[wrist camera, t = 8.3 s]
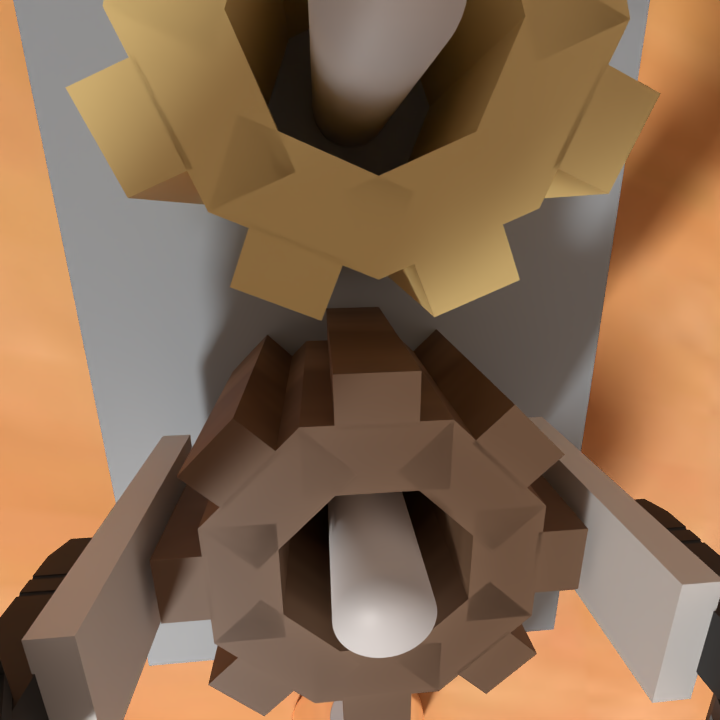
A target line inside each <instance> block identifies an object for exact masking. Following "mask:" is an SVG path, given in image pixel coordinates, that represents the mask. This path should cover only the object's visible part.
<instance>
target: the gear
mask: <svg viewBox="0 0 720 720" xmlns="http://www.w3.org/2000/svg"><path fill="white" fill-rule="evenodd" d="M103 8H104V10H105V12H106V14H107V16H108V18H109V20H110V22H111V24H112V26H113V28H114V30H115V32H116V34H117V36H118V37H119V39H120V41H121V43H122V45H123V47H124V49H125V51H126V53H127V55H128V58H126V59H124V60H122V61H120V62H118V63H116V64H114V65H111V66H109V67H107V68H105V69H103V70H101V71H99V72H97V73H95V74H93V75H91V76H88V77H86V78H84V79H82V80H80V81H78V82H76V83H74V84H72V85H70V86H67V87H65V88H66V90H67V91H68V93H69V95H70V97H71V98H72V100H73V102H74V104H75V106H76V107H77V109H78V111H79V113H80V114H81V116H82V118H83V120H84V121H85V123H86V125H87V127H88V129H89V130H90V132H91V134H92V136H93V137H94V139H95V141H96V143H97V144H98V146H99V148H100V150H101V152H102V153H103V155H104V157H105V159H106V160H107V162H108V164H109V166H110V168H111V169H112V171H113V173H114V175H115V176H116V178H117V180H118V182H119V183H120V185H121V187H122V189H123V191H124V192H125V194H126V196H127V198H133V199H145V200H156V201H168V202H180V203H192V204H203V205H205V207H206V209H207V211H208V212H209V213H212V214H214V215H217V216H219V217H222V218H224V219H227V220H229V221H232V222H234V223H237V224H239V225H242V226H244V227H247V228H249V229H248V232H247V235H246V238H245V241H244V244H243V247H242V251H241V254H240V257H239V260H238V263H237V266H236V269H235V272H234V276H233V279H232V282H231V285H230V287H231V288H234V289H236V290H239V291H242V292H244V293H247V294H250V295H253V296H255V297H258V298H261V299H263V300H266V301H269V302H272V303H274V304H277V305H280V306H283V307H285V308H288V309H291V310H293V311H296V312H299V313H302V314H304V315H307V316H310V317H312V318H315V319H318V320H321V321H322V318H323V316H324V313H325V310H326V308H327V305H328V303H329V300H330V297H331V295H332V292H333V290H334V287H335V284H336V282H337V279H338V276H339V274H340V271H341V269H342V266H345V267H348V268H351V269H353V270H356V271H358V272H361V273H363V274H366V275H368V276H371V277H373V278H376V279H378V280H379V279H381V278H384V277H386V276H388V277H389V278H390V279H391V280H393V281H394V282H395V283H396V284H397V285H398V286H399V287H401V288H402V289H403V290H404V291H405V292H406V293H407V294H409V295H410V296H411V297H412V298H413V299H414V300H415V301H417V302H418V303H419V304H420V305H421V306H422V307H423V308H425V309H426V310H427V311H428V312H429V313H430V314H431V315H433V316H434V317H436V316H439V315H441V314H443V313H446V312H448V311H450V310H452V309H455V308H457V307H459V306H462V305H464V304H466V303H468V302H471V301H473V300H475V299H478V298H480V297H482V296H484V295H487V294H489V293H491V292H494V291H496V290H498V289H500V288H503V287H505V286H507V285H510V284H512V283H514V282H516V281H519V280H520V278H519V275H518V272H517V269H516V265H515V262H514V259H513V256H512V252H511V249H510V246H509V242H508V239H507V236H506V233H505V229H504V226H503V224H505V223H508V222H510V221H512V220H514V219H517V218H519V217H521V216H523V215H526V214H528V213H530V212H532V211H535V210H537V209H539V208H540V206H541V204H542V202H543V200H544V198H555V197H570V196H584V195H598V194H609V193H610V191H611V189H612V187H613V185H614V183H615V181H616V179H617V177H618V175H619V173H620V171H621V169H622V167H623V165H624V163H625V162H626V160H627V158H628V156H629V154H630V152H631V150H632V148H633V146H634V144H635V142H636V140H637V138H638V136H639V134H640V132H641V130H642V128H643V127H644V125H645V123H646V121H647V119H648V117H649V115H650V113H651V111H652V109H653V107H654V105H655V103H656V101H657V99H658V97H659V95H660V93H659V92H657V91H655V90H653V89H651V88H650V87H648V86H646V85H644V84H642V83H641V82H639V81H637V80H635V79H633V78H632V77H630V76H628V75H626V74H624V73H622V72H621V71H619V70H617V69H615V68H613V67H612V66H610V65H608V64H609V62H610V60H611V58H612V56H613V54H614V52H615V50H616V48H617V46H618V44H619V41H620V39H621V37H622V35H623V33H624V31H625V29H626V27H627V25H628V23H629V21H630V14H629V9H628V3H627V0H467V2H466V6H465V9H464V12H463V15H462V18H461V20H460V22H459V24H458V27H457V29H456V30H455V32H454V34H453V35H452V37H451V38H450V40H449V41H448V42H447V44H446V45H445V46H444V48H443V49H442V50H441V52H440V53H439V54H438V55H437V57H436V58H435V59H434V61H433V62H432V63H431V65H430V66H429V67H428V69H427V70H426V71H425V73H424V74H423V75H422V76H421V78H420V80H421V83H422V86H423V89H424V92H425V95H426V98H427V101H428V104H429V110H428V112H427V115H426V117H425V120H424V123H423V125H422V128H421V130H420V133H419V135H418V138H417V140H416V143H415V145H414V148H413V150H412V153H411V155H410V158H409V160H408V163H406V164H404V165H402V166H399V167H397V168H395V169H393V170H391V171H388V172H386V173H384V174H382V175H379V176H378V175H376V174H374V173H371V172H369V171H367V170H365V169H362V168H360V167H358V166H356V165H353V164H351V163H349V162H347V161H344V160H342V159H340V158H338V157H335V156H333V155H331V154H329V153H326V152H324V151H322V150H320V149H317V148H315V147H313V146H311V145H308V144H306V143H304V142H302V141H299V140H297V139H295V138H293V137H290V136H288V135H286V134H284V133H281V132H279V130H278V128H277V125H276V123H275V121H274V119H273V116H272V114H271V112H270V109H269V107H268V105H269V101H270V98H271V95H272V92H273V88H274V85H275V82H276V79H277V76H278V72H279V69H280V66H281V63H282V59H283V56H284V53H285V50H286V46H287V43H288V40H289V38H291V37H294V36H296V35H298V34H300V33H302V32H304V31H306V30H308V29H309V10H308V0H104V1H103Z"/></svg>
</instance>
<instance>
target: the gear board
mask: <svg viewBox="0 0 720 720" xmlns="http://www.w3.org/2000/svg"><path fill="white" fill-rule="evenodd" d="M13 1H14V6H15V11H16V16H17V21H18V26H19V31H20V35H21V40H22V45H23V50H24V55H25V60H26V65H27V70H28V75H29V80H30V84H31V89H32V94H33V99H34V104H35V109H36V114H37V119H38V124H39V129H40V133H41V138H42V143H43V148H44V153H45V158H46V163H47V168H48V173H49V178H50V182H51V187H52V192H53V197H54V202H55V207H56V212H57V217H58V222H59V227H60V231H61V236H62V241H63V246H64V251H65V256H66V261H67V266H68V271H69V276H70V280H71V285H72V290H73V295H74V300H75V305H76V310H77V315H78V320H79V325H80V329H81V334H82V339H83V344H84V349H85V354H86V359H87V364H88V369H89V374H90V378H91V383H92V388H93V393H94V398H95V403H96V408H97V413H98V418H99V423H100V427H101V432H102V437H103V442H104V447H105V452H106V457H107V462H108V467H109V472H110V476H111V481H112V486H113V491H114V496H115V501H116V503H117V501H118V500H119V499H120V497H121V496H122V494H123V493H124V491H125V490H126V488H127V487H128V486H129V484H130V483H131V481H132V480H133V478H134V477H135V475H136V474H137V473H138V471H139V470H140V468H141V467H142V465H143V464H144V462H145V461H146V460H147V458H148V457H149V455H150V454H151V452H152V451H153V449H154V448H155V447H156V445H157V444H158V442H159V441H160V439H161V438H162V436H172V435H190V437H191V444H192V447H193V445H194V443H195V441H196V440H197V438H198V436H199V434H200V432H201V430H202V428H203V426H204V425H205V423H206V421H207V419H208V417H209V415H210V413H211V411H212V410H213V408H214V406H215V404H216V402H217V400H218V398H219V396H220V395H221V393H222V391H223V389H224V387H225V385H226V383H227V381H228V380H229V378H230V376H231V374H232V372H233V371H234V370H235V369H236V367H237V366H238V365H239V364H240V363H241V362H242V361H243V360H244V359H245V358H246V357H247V356H248V355H249V354H250V352H251V351H252V350H253V349H254V348H255V347H256V346H257V345H258V344H259V343H260V342H261V341H262V340H263V339H264V338H265V336H266V335H268V336H270V337H271V338H272V339H273V340H274V341H275V342H276V343H278V344H279V345H280V346H281V347H282V348H283V349H285V350H286V351H287V352H288V353H289V354H290V355H293V354H294V353H295V352H296V351H297V350H298V349H299V348H300V347H301V346H302V345H303V344H304V343H305V342H306V341H323V340H327V315H326V310H325V313H324V316H323V318H322V321H321V320H318V319H315V318H312V317H310V316H307V315H304V314H302V313H299V312H296V311H293V310H291V309H288V308H285V307H283V306H280V305H277V304H274V303H272V302H269V301H266V300H263V299H261V298H258V297H255V296H253V295H250V294H247V293H244V292H242V291H239V290H236V289H234V288H231V287H230V285H231V282H232V279H233V276H234V272H235V269H236V266H237V263H238V260H239V257H240V254H241V251H242V247H243V244H244V241H245V238H246V235H247V232H248V229H249V228H247V227H244V226H242V225H239V224H237V223H234V222H232V221H229V220H227V219H224V218H222V217H219V216H217V215H214V214H212V213H209V212H208V211H207V209H206V207H205V205H203V204H192V203H180V202H168V201H156V200H145V199H133V198H127V196H126V194H125V192H124V191H123V189H122V187H121V185H120V183H119V182H118V180H117V178H116V176H115V175H114V173H113V171H112V169H111V168H110V166H109V164H108V162H107V160H106V159H105V157H104V155H103V153H102V152H101V150H100V148H99V146H98V144H97V143H96V141H95V139H94V137H93V136H92V134H91V132H90V130H89V129H88V127H87V125H86V123H85V121H84V120H83V118H82V116H81V114H80V113H79V111H78V109H77V107H76V106H75V104H74V102H73V100H72V98H71V97H70V95H69V93H68V91H67V90H66V88H65V87H67V86H70V85H72V84H74V83H76V82H78V81H80V80H82V79H84V78H86V77H88V76H91V75H93V74H95V73H97V72H99V71H101V70H103V69H105V68H107V67H109V66H111V65H114V64H116V63H118V62H120V61H122V60H124V59H126V58H128V55H127V53H126V51H125V49H124V47H123V45H122V43H121V41H120V39H119V37H118V36H117V34H116V32H115V30H114V28H113V26H112V24H111V22H110V20H109V18H108V16H107V14H106V12H105V10H104V8H103V1H104V0H13ZM466 2H467V0H308V10H309V29H308V30H306V31H304V32H302V33H300V34H298V35H296V36H294V37H291V38H289V40H288V43H287V46H286V50H285V53H284V56H283V59H282V63H281V66H280V69H279V72H278V76H277V79H276V82H275V85H274V88H273V92H272V95H271V98H270V101H269V105H268V107H269V109H270V112H271V114H272V116H273V119H274V121H275V123H276V125H277V128H278V130H279V132H281V133H284V134H286V135H288V136H290V137H293V138H295V139H297V140H299V141H302V142H304V143H306V144H308V145H311V146H313V147H315V148H317V149H320V150H322V151H324V152H326V153H329V154H331V155H333V156H335V157H338V158H340V159H342V160H344V161H347V162H349V163H351V164H353V165H356V166H358V167H360V168H362V169H365V170H367V171H369V172H371V173H374V174H376V175H378V176H379V175H382V174H384V173H386V172H388V171H391V170H393V169H395V168H397V167H399V166H402V165H404V164H406V163H408V160H409V158H410V155H411V153H412V150H413V148H414V145H415V143H416V140H417V138H418V135H419V133H420V130H421V128H422V125H423V123H424V120H425V117H426V115H427V112H428V110H429V104H428V101H427V98H426V95H425V92H424V89H423V86H422V83H421V80H420V78H421V76H422V75H423V74H424V73H425V71H426V70H427V69H428V67H429V66H430V65H431V63H432V62H433V61H434V59H435V58H436V57H437V55H438V54H439V53H440V52H441V50H442V49H443V48H444V46H445V45H446V44H447V42H448V41H449V40H450V38H451V37H452V35H453V34H454V32H455V30H456V29H457V27H458V24H459V22H460V20H461V18H462V15H463V12H464V9H465V6H466ZM649 2H650V0H627V3H628V9H629V14H630V21H629V23H628V25H627V27H626V29H625V31H624V33H623V35H622V37H621V39H620V41H619V44H618V46H617V48H616V50H615V52H614V54H613V56H612V58H611V60H610V62H609V64H608V65H610V66H612V67H613V68H615V69H617V70H619V71H621V72H622V73H624V74H626V75H628V76H630V77H632V78H633V79H635V80H637V81H638V74H639V68H640V61H641V54H642V48H643V41H644V35H645V28H646V22H647V15H648V9H649ZM624 166H625V163H624V165H623V167H622V169H621V171H620V173H619V175H618V177H617V179H616V181H615V183H614V185H613V187H612V189H611V191H610V193H609V194H598V195H584V196H570V197H555V198H544V200H543V202H542V204H541V206H540V208H539V209H537V210H535V211H532V212H530V213H528V214H526V215H523V216H521V217H519V218H517V219H514V220H512V221H510V222H508V223H505V224H503V226H504V229H505V233H506V236H507V239H508V242H509V246H510V249H511V252H512V256H513V259H514V262H515V265H516V269H517V272H518V275H519V278H520V280H519V281H516V282H514V283H512V284H510V285H507V286H505V287H503V288H500V289H498V290H496V291H494V292H491V293H489V294H487V295H484V296H482V297H480V298H478V299H475V300H473V301H471V302H468V303H466V304H464V305H462V306H459V307H457V308H455V309H452V310H450V311H448V312H446V313H443V314H441V315H439V316H436V317H434V316H433V315H431V314H430V313H429V312H428V311H427V310H426V309H425V308H423V307H422V306H421V305H420V304H419V303H418V302H417V301H415V300H414V299H413V298H412V297H411V296H410V295H409V294H407V293H406V292H405V291H404V290H403V289H402V288H401V287H399V286H398V285H397V284H396V283H395V282H394V281H393V280H391V279H390V278H389V277H388V276H386V277H384V278H381V279H379V280H378V279H376V278H373V277H371V276H368V275H366V274H363V273H361V272H358V271H356V270H353V269H351V268H348V267H345V266H342V269H341V271H340V274H339V276H338V279H337V282H336V284H335V287H334V290H333V292H332V295H331V297H330V300H329V303H328V305H327V308H358V307H379V308H380V309H381V311H382V312H383V314H384V315H385V317H386V318H387V320H388V321H389V323H390V324H391V326H392V327H393V329H394V330H395V332H396V333H397V335H398V336H399V338H400V339H401V340H402V341H403V342H404V343H405V344H406V345H407V346H408V347H409V348H410V349H411V350H413V351H414V350H415V349H416V348H417V347H418V346H419V345H420V344H421V343H422V342H423V341H424V340H426V339H427V338H428V337H429V336H430V335H431V334H432V333H433V332H434V331H435V330H436V329H437V330H438V331H439V332H440V333H441V334H442V335H443V336H444V337H445V338H446V339H447V340H448V341H449V342H450V343H451V344H452V345H453V346H455V347H456V348H457V349H458V350H459V351H460V352H461V353H462V354H463V355H464V356H465V357H466V358H467V359H468V360H469V361H470V362H471V363H472V364H473V365H474V366H475V367H476V368H477V369H478V370H479V371H481V372H482V373H483V374H484V375H485V376H486V377H487V378H488V379H489V380H490V381H491V382H492V383H493V384H494V385H495V386H496V387H497V388H498V389H499V390H500V391H501V392H502V393H503V394H504V395H505V396H507V397H508V398H509V399H510V400H511V401H512V402H513V403H514V404H515V405H516V406H517V407H518V408H519V409H520V410H521V411H522V412H523V413H524V414H525V415H526V416H527V417H543V418H544V419H545V420H546V421H547V422H548V423H549V424H551V425H552V426H553V427H554V428H555V429H556V430H557V431H558V432H559V433H561V434H562V435H563V436H564V437H565V438H566V439H567V440H568V441H569V442H571V443H572V444H573V445H574V446H575V447H576V448H577V449H578V450H579V451H581V447H582V441H583V434H584V427H585V421H586V414H587V408H588V401H589V395H590V388H591V382H592V375H593V369H594V362H595V355H596V349H597V342H598V336H599V329H600V323H601V316H602V310H603V303H604V297H605V290H606V283H607V277H608V270H609V264H610V257H611V251H612V244H613V238H614V231H615V225H616V218H617V212H618V205H619V198H620V192H621V185H622V179H623V172H624ZM328 524H329V551H330V577H331V604H332V625H333V630H334V633H335V635H336V637H337V639H338V640H339V641H340V643H341V644H342V645H343V646H344V647H346V648H347V649H348V650H350V651H352V652H354V653H356V654H359V655H362V656H365V657H371V658H386V657H392V656H397V655H400V654H403V653H405V652H407V651H410V650H411V649H413V648H415V647H416V646H418V645H419V644H420V643H422V642H423V641H424V640H425V639H426V638H427V636H428V635H429V634H430V632H431V631H432V629H433V627H434V625H435V622H436V619H437V605H436V601H435V598H434V595H433V591H432V588H431V585H430V582H429V578H428V575H427V572H426V569H425V565H424V562H423V559H422V556H421V552H420V549H419V546H418V543H417V539H416V536H415V533H414V529H413V526H412V523H411V520H410V516H409V513H408V510H407V507H406V503H405V500H404V497H403V494H402V492H388V493H372V494H356V495H340V496H335V497H334V498H332V499H331V500H330V501H329V502H328ZM558 598H559V591H549V592H537V593H535V595H534V603H533V610H532V616H531V617H529V618H528V619H527V620H526V621H524V622H523V623H522V625H523V627H524V629H525V631H526V632H529V631H540V630H551V629H554V624H555V617H556V611H557V604H558ZM216 650H217V645H216V644H214V639H213V632H212V625H211V620H200V621H188V622H176V623H164V624H161V622H160V625H159V628H158V630H157V633H156V636H155V638H154V641H153V643H152V646H151V649H150V651H149V654H148V656H147V658H148V663H149V666H152V665H163V664H174V663H185V662H196V661H207V660H214V658H215V654H216Z"/></svg>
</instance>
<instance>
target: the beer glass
mask: <svg viewBox="0 0 720 720" xmlns="http://www.w3.org/2000/svg"><path fill="white" fill-rule="evenodd" d="M292 720H344V719H343V701H334V702H324V703H314V702H312V701H310V700H308V699H307V698H305V697H303V696H302V697H301V698H300V699H299V701H298V703H297V704H296V707H295V709H294V712H293V716H292ZM411 720H424V714H423V708H422V703H421V700H420V698H419V696H418V694H417V693H414V694H411Z"/></svg>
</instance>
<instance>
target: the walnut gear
mask: <svg viewBox="0 0 720 720" xmlns="http://www.w3.org/2000/svg"><path fill="white" fill-rule="evenodd" d="M326 315H327V340H323V341H306V342H305V343H304V344H303V345H302V346H301V347H300V348H299V349H298V350H297V351H296V352H295V353H294V354H293V355H290V354H289V353H288V352H287V351H286V350H285V349H283V348H282V347H281V346H280V345H279V344H278V343H276V342H275V341H274V340H273V339H272V338H271V337H270V336H268V335H266V336H265V338H264V339H263V340H262V341H261V342H260V343H259V344H258V345H257V346H256V347H255V348H254V349H253V350H252V351H251V352H250V354H249V355H248V356H247V357H246V358H245V359H244V360H243V361H242V362H241V363H240V364H239V365H238V366H237V367H236V369H235V370H234V371H233V372H232V374H231V376H230V378H229V380H228V381H227V383H226V385H225V387H224V389H223V391H222V393H221V395H220V396H219V398H218V400H217V402H216V404H215V406H214V408H213V410H212V411H211V413H210V415H209V417H208V419H207V421H206V423H205V425H204V426H203V428H202V430H201V432H200V434H199V436H198V438H197V440H196V441H195V443H194V445H193V447H192V449H191V451H190V453H189V455H188V456H187V458H186V460H185V462H184V464H183V466H182V468H181V470H180V471H179V473H178V475H177V478H179V479H180V480H181V481H183V482H184V483H186V486H185V488H184V490H183V492H182V494H181V496H180V498H179V500H178V502H177V504H176V506H175V508H174V511H173V513H172V515H171V517H170V519H169V521H168V523H167V525H166V527H165V529H164V531H163V533H162V535H161V537H160V540H159V542H158V544H157V546H156V548H155V550H154V552H153V554H152V556H151V558H150V560H149V561H150V566H151V571H152V577H153V582H154V588H155V593H156V598H157V604H158V609H159V614H160V620H161V624H164V623H176V622H188V621H200V620H211V625H212V632H213V639H214V644H216V645H217V650H216V654H215V658H214V663H213V667H212V672H211V676H210V680H209V685H210V686H211V687H213V688H215V689H217V690H219V691H220V692H222V693H224V694H226V695H227V696H229V697H231V698H233V699H235V700H236V701H238V702H240V703H242V704H243V705H245V706H247V707H249V708H251V709H252V710H254V711H256V712H258V713H260V714H261V715H263V716H265V715H266V714H268V713H269V712H270V711H271V710H272V709H273V708H274V707H276V706H277V705H278V704H279V703H280V702H281V701H283V700H284V699H285V698H286V697H287V696H288V695H289V694H291V693H292V692H293V691H295V692H297V693H298V694H300V695H302V696H303V697H305V698H307V699H308V700H310V701H312V702H314V703H324V702H334V701H343V719H344V720H411V694H414V693H424V692H434V691H439V690H441V689H442V688H443V687H444V686H445V685H447V684H448V683H449V682H450V681H452V680H453V679H454V678H455V677H457V676H458V675H460V676H461V677H463V678H464V679H466V680H467V681H469V682H470V683H471V684H473V685H474V686H476V687H477V688H479V689H480V690H481V691H483V692H484V693H486V694H487V693H488V692H489V691H490V690H492V689H493V688H494V687H495V686H497V685H498V684H499V683H500V682H502V681H503V680H504V679H506V678H507V677H508V676H509V675H511V674H512V673H513V672H514V671H516V670H517V669H518V668H519V667H521V666H522V665H523V664H525V663H526V662H527V661H528V660H530V659H531V658H532V657H533V656H535V655H536V654H537V653H536V651H535V649H534V647H533V645H532V643H531V641H530V639H529V637H528V635H527V633H526V631H525V629H524V627H523V625H522V623H523V622H524V621H526V620H527V619H528V618H529V617H531V616H532V610H533V603H534V595H535V593H537V592H549V591H561V590H573V589H578V587H579V581H580V575H581V569H582V563H583V557H584V551H585V545H586V539H587V533H588V528H587V527H586V526H585V524H584V523H583V522H582V521H581V520H580V519H579V517H578V516H577V515H576V514H575V513H574V512H573V511H572V509H571V508H570V507H569V506H568V505H567V504H566V502H565V501H564V500H563V499H562V498H561V497H560V495H559V494H558V493H557V492H556V491H555V490H554V489H553V487H552V486H551V485H550V484H549V483H548V482H547V480H546V479H545V478H544V477H543V476H542V474H543V473H544V472H546V471H547V470H548V469H549V468H550V467H551V466H552V465H554V464H555V463H556V462H557V461H558V460H559V459H561V458H562V457H563V456H564V455H565V454H564V453H563V452H562V451H561V450H560V449H559V448H558V447H557V446H556V445H555V444H554V443H553V442H552V441H551V440H550V439H549V438H548V437H547V436H546V435H545V434H544V433H543V432H542V431H541V430H540V429H539V428H538V427H537V426H536V425H535V424H534V423H533V422H532V421H531V420H530V419H529V418H528V417H527V416H526V415H525V414H524V413H523V412H522V411H521V410H520V409H519V408H518V407H517V406H516V405H515V404H514V403H513V402H512V401H511V400H510V399H509V398H508V397H507V396H505V395H504V394H503V393H502V392H501V391H500V390H499V389H498V388H497V387H496V386H495V385H494V384H493V383H492V382H491V381H490V380H489V379H488V378H487V377H486V376H485V375H484V374H483V373H482V372H481V371H479V370H478V369H477V368H476V367H475V366H474V365H473V364H472V363H471V362H470V361H469V360H468V359H467V358H466V357H465V356H464V355H463V354H462V353H461V352H460V351H459V350H458V349H457V348H456V347H455V346H453V345H452V344H451V343H450V342H449V341H448V340H447V339H446V338H445V337H444V336H443V335H442V334H441V333H440V332H439V331H438V330H437V329H436V330H435V331H434V332H433V333H432V334H431V335H430V336H429V337H428V338H427V339H426V340H424V341H423V342H422V343H421V344H420V345H419V346H418V347H417V348H416V349H415V350H414V351H413V350H411V349H410V348H409V347H408V346H407V345H406V344H405V343H404V342H403V341H402V340H401V339H400V338H399V336H398V335H397V333H396V332H395V330H394V329H393V327H392V326H391V324H390V323H389V321H388V320H387V318H386V317H385V315H384V314H383V312H382V311H381V309H380V308H379V307H358V308H326ZM388 492H402V494H403V497H404V500H405V503H406V507H407V510H408V513H409V516H410V520H411V523H412V526H413V529H414V533H415V536H416V539H417V543H418V546H419V549H420V552H421V556H422V559H423V562H424V565H425V569H426V572H427V575H428V578H429V582H430V585H431V588H432V591H433V595H434V598H435V601H436V605H437V619H436V622H435V625H434V627H433V629H432V631H431V632H430V634H429V635H428V636H427V638H426V639H425V640H424V641H423V642H422V643H420V644H419V645H418V646H416V647H415V648H413V649H411V650H410V651H407V652H405V653H403V654H400V655H397V656H392V657H386V658H371V657H365V656H362V655H359V654H356V653H354V652H352V651H350V650H348V649H347V648H346V647H344V646H343V645H342V644H341V643H340V641H339V640H338V639H337V637H336V635H335V633H334V630H333V625H332V604H331V577H330V551H329V524H328V502H329V501H330V500H331V499H332V498H334V497H335V496H340V495H356V494H372V493H388Z"/></svg>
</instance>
